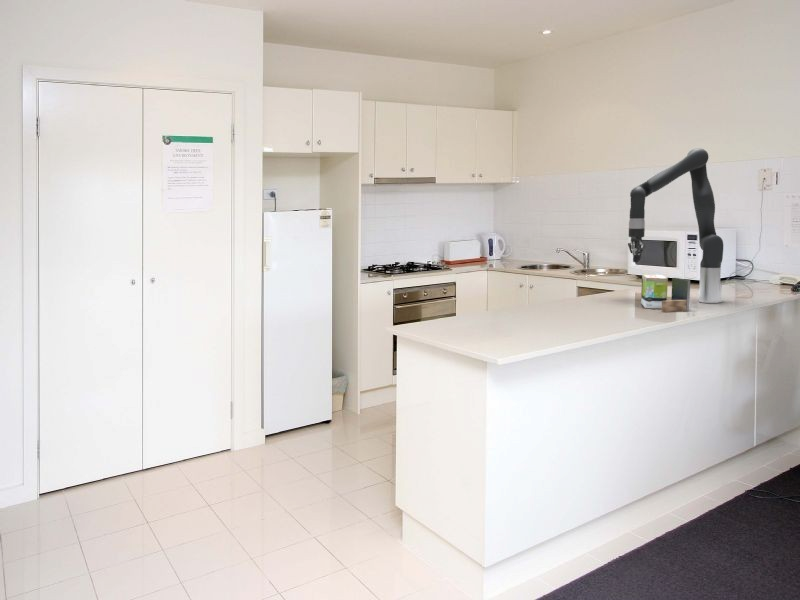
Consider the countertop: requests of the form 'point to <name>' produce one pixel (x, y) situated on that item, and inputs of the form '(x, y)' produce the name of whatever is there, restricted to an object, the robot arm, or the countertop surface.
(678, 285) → the bookend
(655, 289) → the tea box
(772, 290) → the countertop surface
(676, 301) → the wooden block
